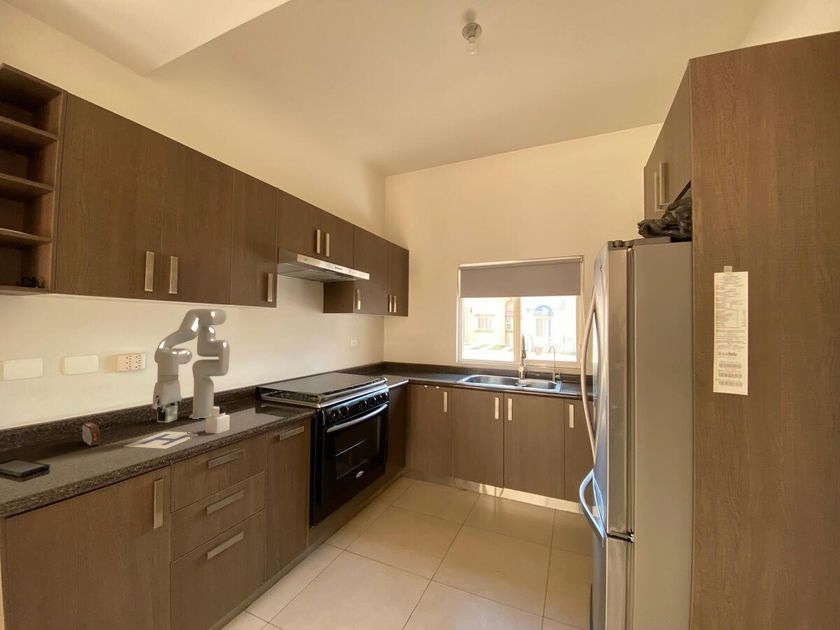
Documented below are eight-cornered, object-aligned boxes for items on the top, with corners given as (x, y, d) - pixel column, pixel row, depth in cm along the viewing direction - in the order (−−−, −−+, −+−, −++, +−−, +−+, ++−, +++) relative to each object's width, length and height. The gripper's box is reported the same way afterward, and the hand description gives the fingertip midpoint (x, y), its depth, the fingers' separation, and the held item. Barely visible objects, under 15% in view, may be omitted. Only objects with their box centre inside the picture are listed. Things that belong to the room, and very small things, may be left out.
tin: (100, 446, 139) (101, 425, 139) (90, 448, 136) (91, 427, 137) (90, 439, 147) (91, 420, 148) (80, 441, 145) (81, 421, 145)
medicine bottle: (218, 428, 164) (219, 403, 165) (229, 429, 162) (230, 405, 163) (205, 432, 157) (205, 407, 158) (216, 434, 155) (217, 408, 156)
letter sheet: (165, 431, 159) (165, 431, 159) (203, 433, 156) (203, 433, 156) (123, 446, 139) (123, 446, 139) (166, 448, 136) (166, 448, 136)
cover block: (167, 418, 152) (167, 405, 152) (177, 419, 151) (177, 405, 151) (157, 422, 147) (157, 408, 147) (167, 422, 146) (167, 408, 146)
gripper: (176, 374, 158) (175, 413, 158) (142, 381, 141) (141, 424, 141) (190, 375, 157) (190, 413, 157) (158, 382, 140) (157, 425, 140)
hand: (167, 418), depth 149 cm, fingers closed on cover block, 5 cm apart
